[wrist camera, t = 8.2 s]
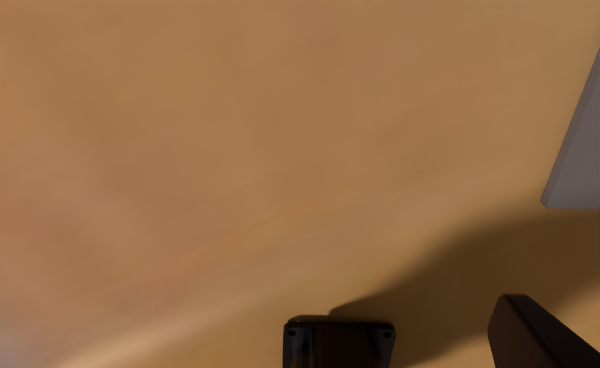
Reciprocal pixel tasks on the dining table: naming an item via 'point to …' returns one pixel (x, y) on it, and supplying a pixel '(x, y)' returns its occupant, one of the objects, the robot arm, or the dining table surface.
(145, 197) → the dining table surface
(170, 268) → the dining table surface
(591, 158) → the mat
